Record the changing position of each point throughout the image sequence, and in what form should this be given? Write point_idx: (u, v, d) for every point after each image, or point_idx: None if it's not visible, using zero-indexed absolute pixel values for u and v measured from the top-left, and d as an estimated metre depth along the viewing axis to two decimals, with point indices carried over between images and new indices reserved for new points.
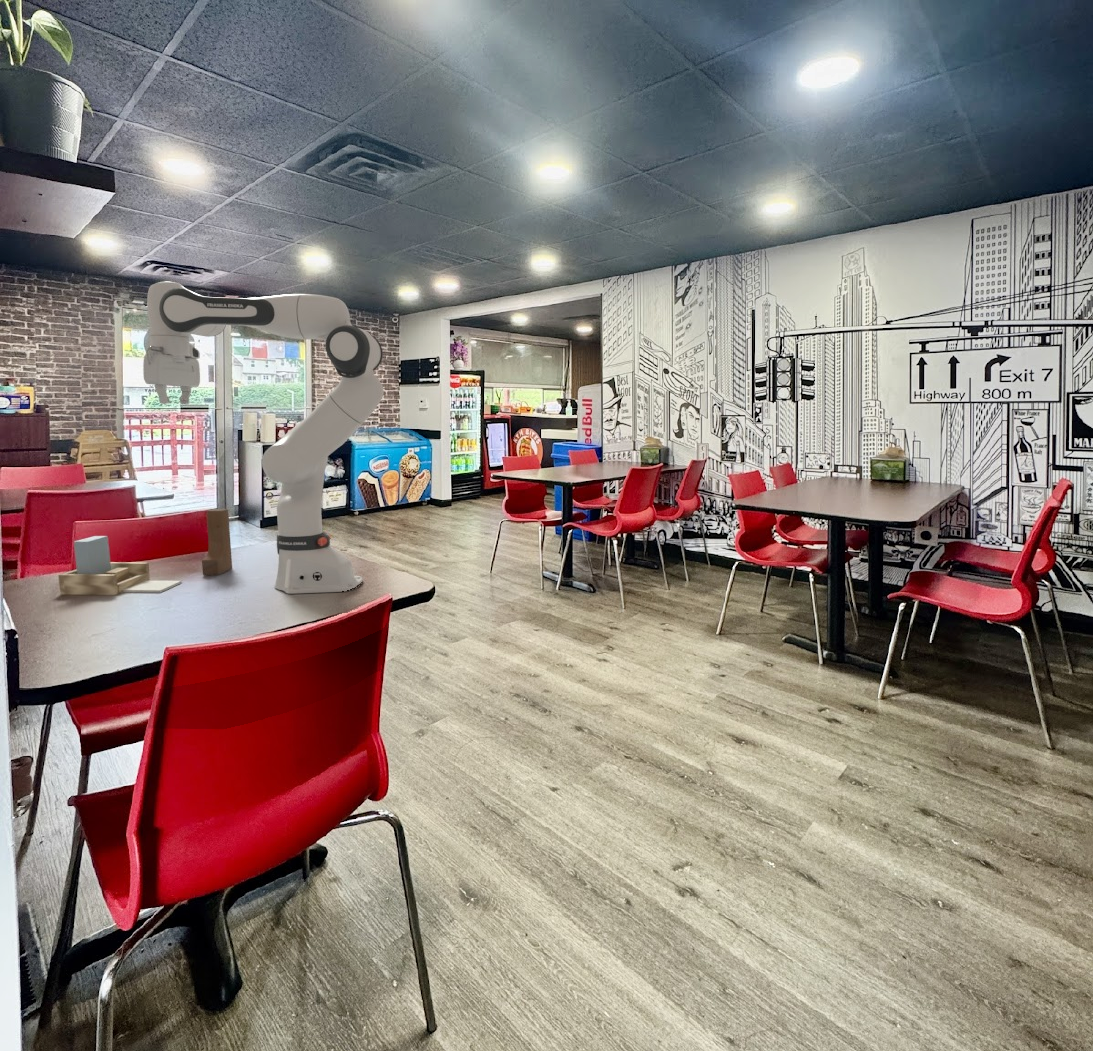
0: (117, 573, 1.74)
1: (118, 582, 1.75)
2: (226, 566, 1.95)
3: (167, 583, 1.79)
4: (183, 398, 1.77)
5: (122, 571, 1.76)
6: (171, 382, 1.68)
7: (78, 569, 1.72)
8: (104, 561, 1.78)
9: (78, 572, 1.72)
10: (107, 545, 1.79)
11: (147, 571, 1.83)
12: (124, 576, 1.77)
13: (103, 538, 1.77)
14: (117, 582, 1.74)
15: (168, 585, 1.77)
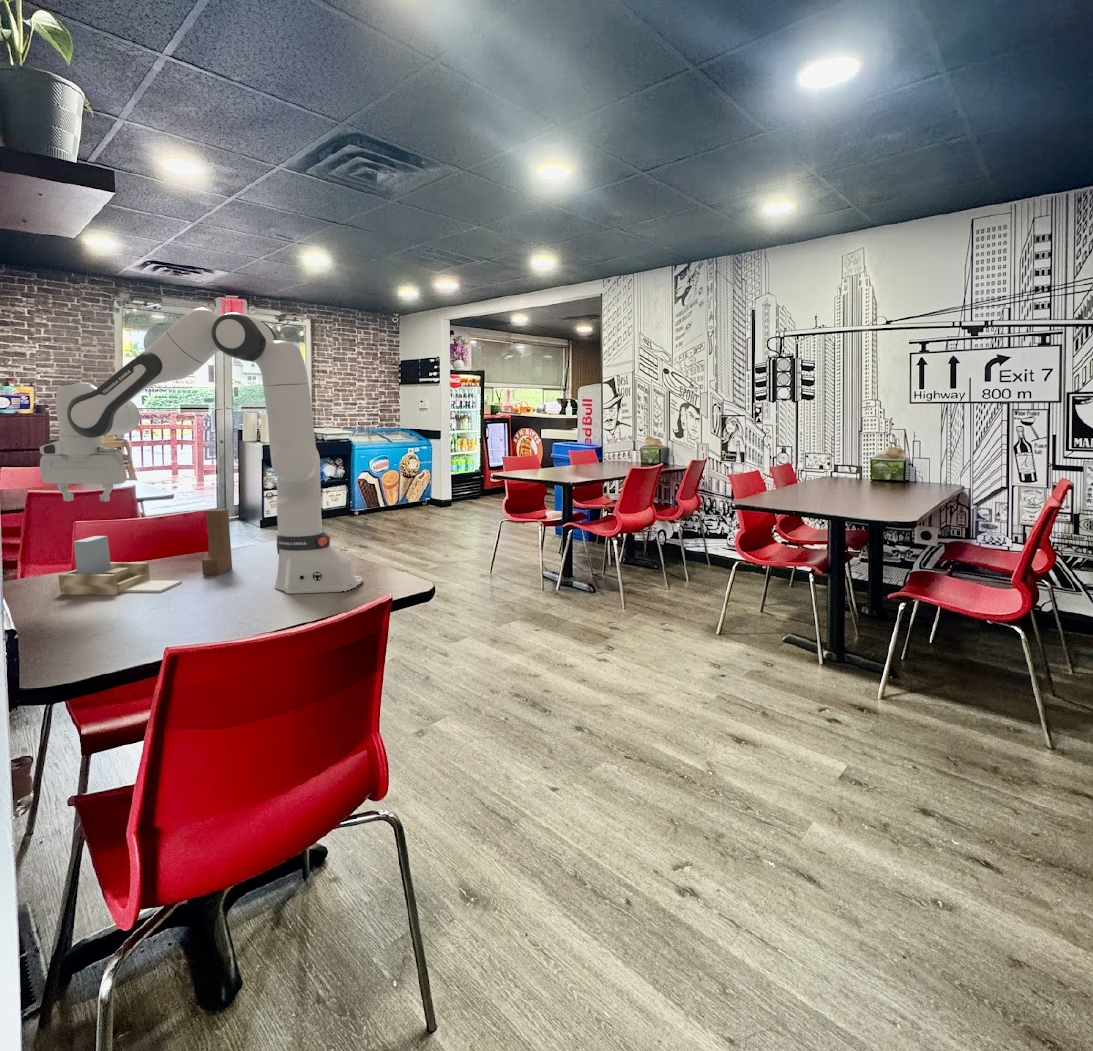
0: (116, 573, 1.74)
1: (117, 582, 1.75)
2: (226, 566, 1.95)
3: (167, 583, 1.79)
4: (70, 495, 1.73)
5: (122, 571, 1.76)
6: None
7: (78, 569, 1.72)
8: (104, 561, 1.78)
9: (78, 572, 1.72)
10: (107, 545, 1.79)
11: (147, 571, 1.83)
12: (124, 576, 1.77)
13: (103, 538, 1.77)
14: None
15: (168, 585, 1.77)
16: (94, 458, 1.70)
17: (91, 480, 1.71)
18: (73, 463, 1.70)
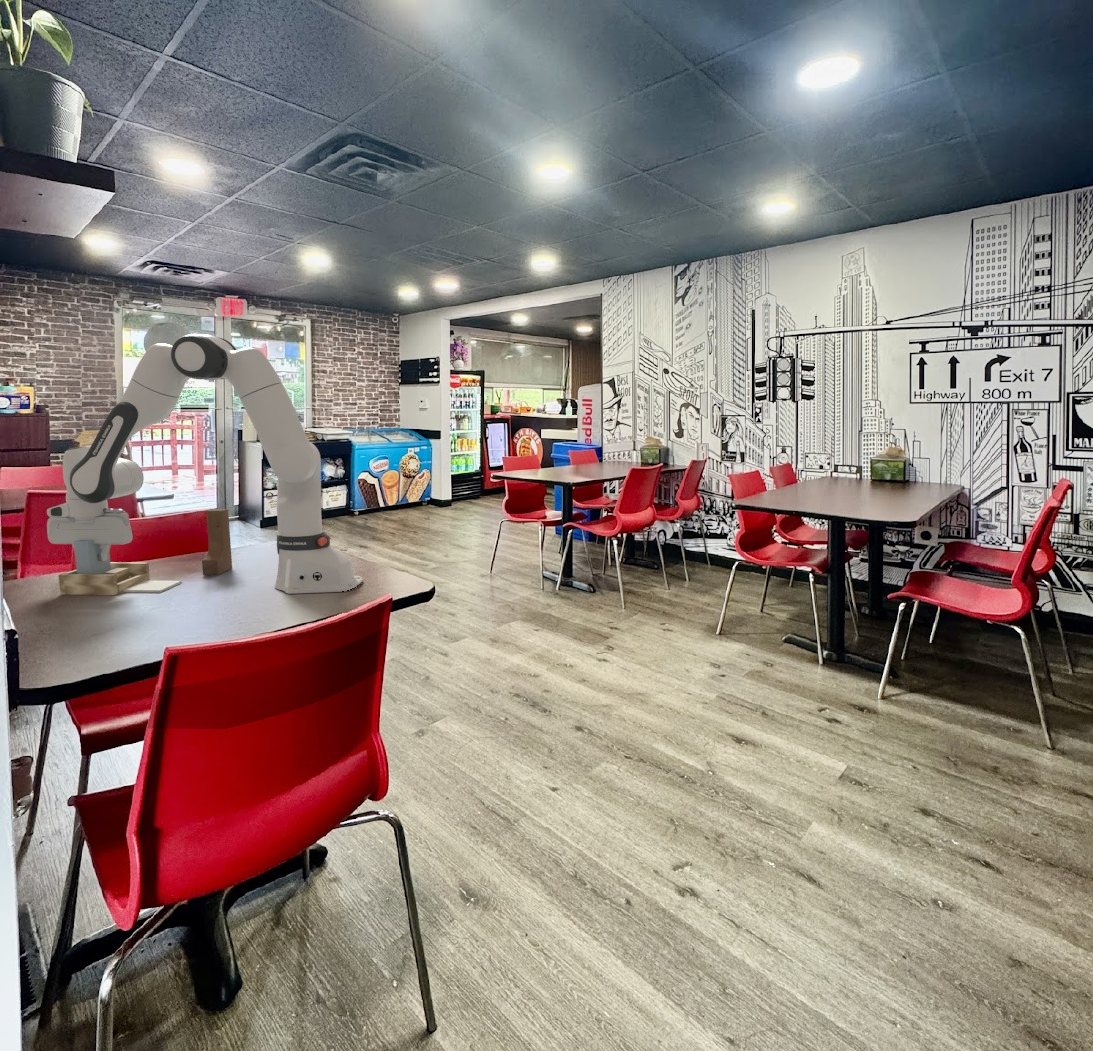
0: (116, 573, 1.74)
1: (118, 582, 1.75)
2: (226, 566, 1.95)
3: (167, 583, 1.79)
4: None
5: (121, 571, 1.76)
6: None
7: (78, 569, 1.72)
8: (104, 561, 1.78)
9: (78, 572, 1.72)
10: None
11: (147, 571, 1.83)
12: (123, 576, 1.77)
13: None
14: (117, 582, 1.74)
15: (168, 585, 1.77)
16: (101, 520, 1.72)
17: (97, 541, 1.73)
18: (79, 524, 1.73)
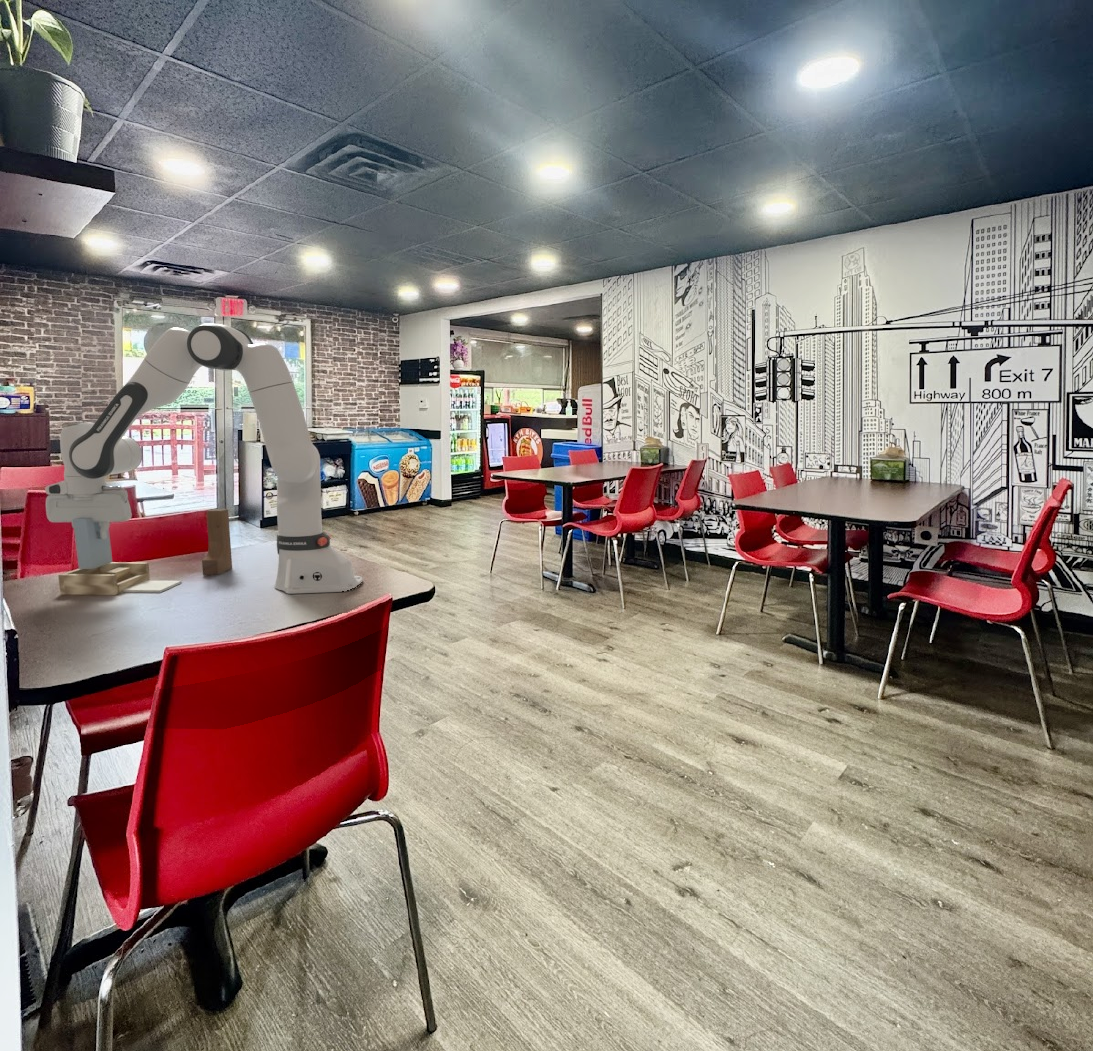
0: (117, 573, 1.74)
1: (118, 582, 1.75)
2: (226, 566, 1.95)
3: (167, 583, 1.79)
4: None
5: (122, 571, 1.77)
6: None
7: (77, 547, 1.72)
8: (103, 540, 1.77)
9: (77, 550, 1.72)
10: None
11: (147, 571, 1.83)
12: (125, 576, 1.77)
13: None
14: (117, 582, 1.74)
15: (168, 585, 1.77)
16: (99, 497, 1.72)
17: (96, 518, 1.72)
18: (78, 502, 1.72)
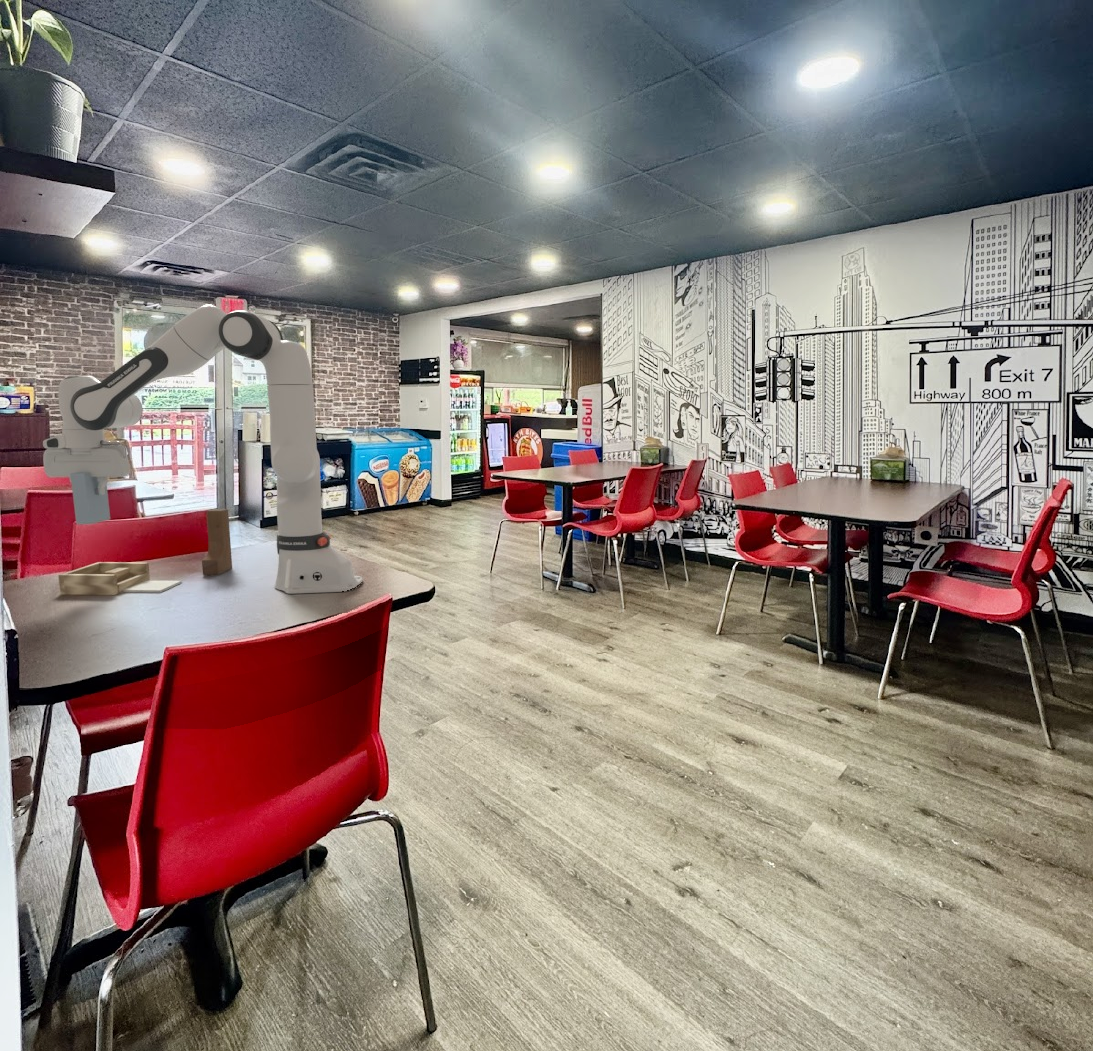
0: (116, 573, 1.74)
1: (118, 582, 1.75)
2: (226, 566, 1.95)
3: (167, 583, 1.79)
4: None
5: (121, 571, 1.76)
6: None
7: (75, 502, 1.70)
8: (101, 496, 1.75)
9: (75, 505, 1.70)
10: None
11: (147, 571, 1.83)
12: (124, 576, 1.77)
13: None
14: (117, 582, 1.74)
15: (168, 585, 1.77)
16: (98, 451, 1.70)
17: (95, 473, 1.71)
18: (76, 456, 1.70)
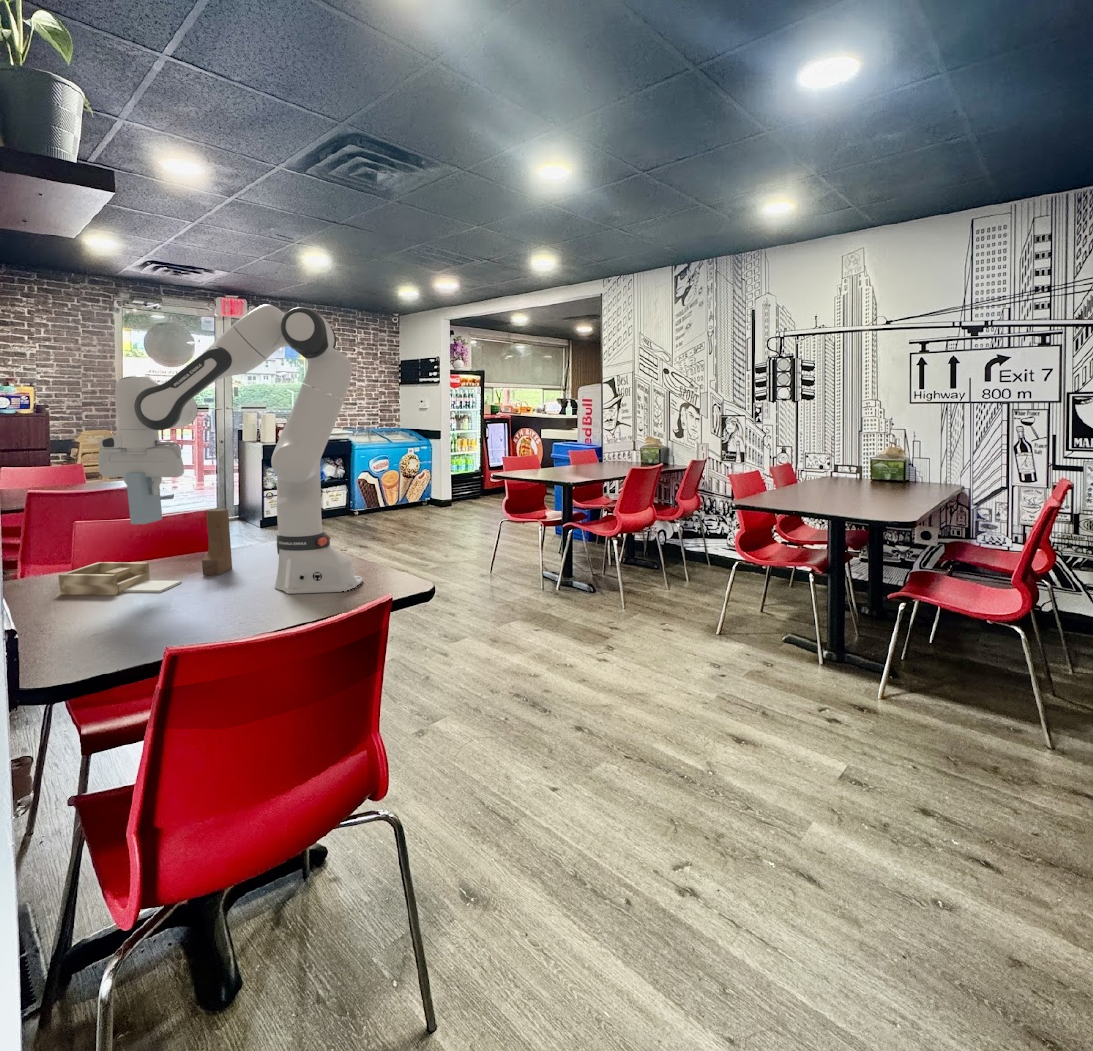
0: (116, 573, 1.74)
1: (118, 582, 1.75)
2: (226, 566, 1.95)
3: (167, 583, 1.79)
4: None
5: (122, 571, 1.76)
6: None
7: (130, 501, 1.69)
8: (155, 496, 1.75)
9: (130, 505, 1.69)
10: None
11: (147, 571, 1.83)
12: (124, 576, 1.77)
13: None
14: (117, 582, 1.74)
15: (168, 585, 1.77)
16: (153, 451, 1.69)
17: (149, 473, 1.70)
18: (131, 456, 1.70)
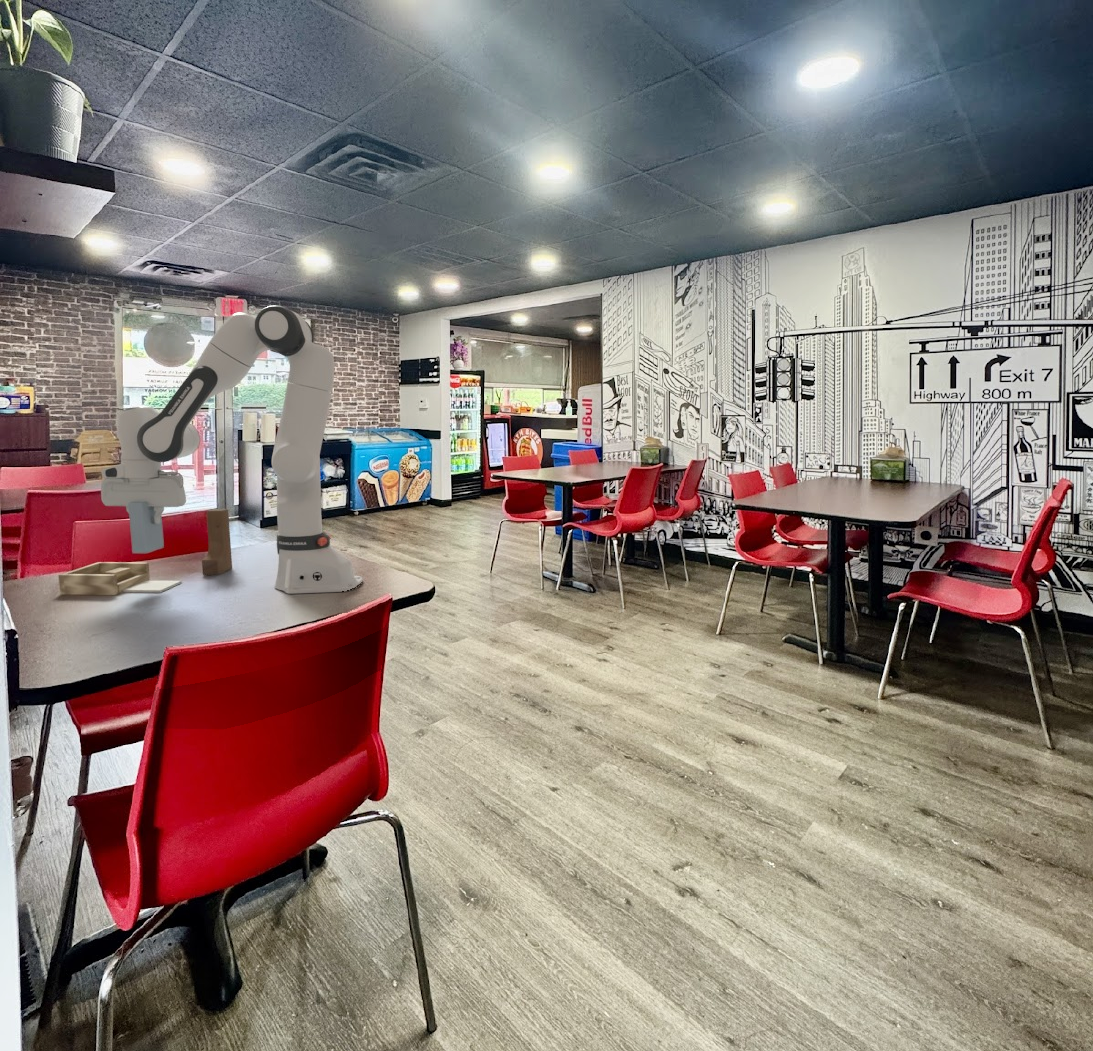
0: (116, 573, 1.74)
1: (118, 582, 1.75)
2: (226, 566, 1.95)
3: (167, 583, 1.79)
4: None
5: (122, 571, 1.76)
6: None
7: (132, 531, 1.71)
8: (156, 524, 1.76)
9: (132, 534, 1.71)
10: None
11: (147, 571, 1.83)
12: (124, 576, 1.77)
13: None
14: (117, 582, 1.74)
15: (168, 585, 1.77)
16: (155, 481, 1.71)
17: (151, 503, 1.72)
18: (133, 486, 1.71)
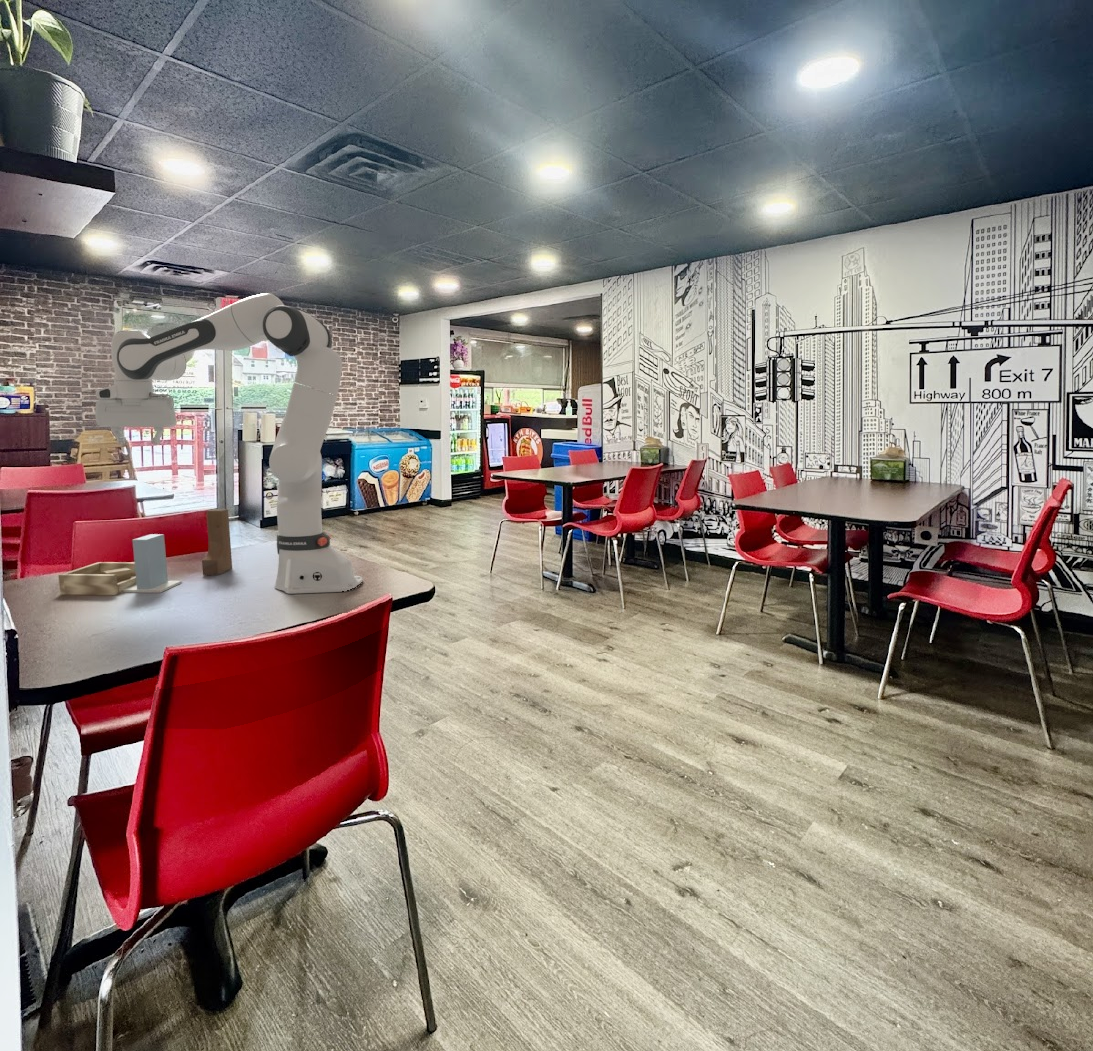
0: None
1: (117, 582, 1.74)
2: (226, 565, 1.95)
3: (167, 583, 1.79)
4: (123, 438, 1.83)
5: (118, 572, 1.75)
6: None
7: (136, 567, 1.72)
8: (160, 560, 1.78)
9: (136, 570, 1.72)
10: (163, 543, 1.79)
11: None
12: (121, 577, 1.76)
13: (160, 536, 1.77)
14: None
15: (168, 585, 1.77)
16: (147, 402, 1.79)
17: (143, 423, 1.80)
18: (126, 407, 1.80)
